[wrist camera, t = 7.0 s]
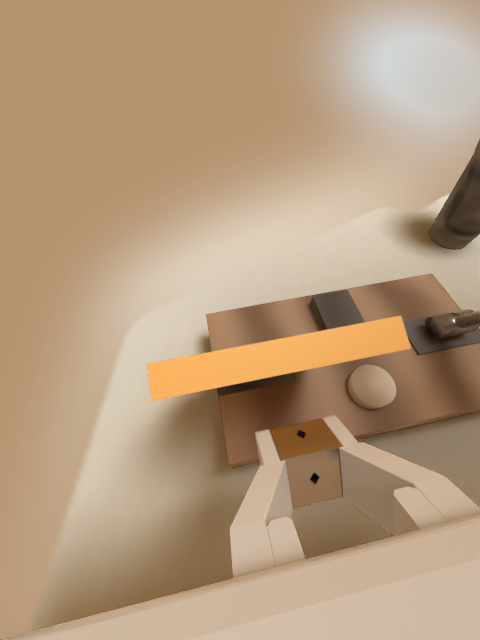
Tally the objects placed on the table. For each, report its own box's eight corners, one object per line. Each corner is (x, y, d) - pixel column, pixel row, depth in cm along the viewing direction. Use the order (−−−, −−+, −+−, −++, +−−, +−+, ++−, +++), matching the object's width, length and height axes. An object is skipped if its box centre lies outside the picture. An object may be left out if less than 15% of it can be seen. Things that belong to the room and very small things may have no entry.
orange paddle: (305, 341, 20) (398, 307, 9) (311, 363, 20) (414, 357, 9) (192, 363, 20) (145, 355, 9) (196, 386, 19) (153, 410, 8)
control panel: (410, 298, 28) (439, 264, 24) (487, 409, 22) (547, 390, 17) (211, 335, 26) (204, 306, 22) (232, 467, 20) (227, 463, 16)
